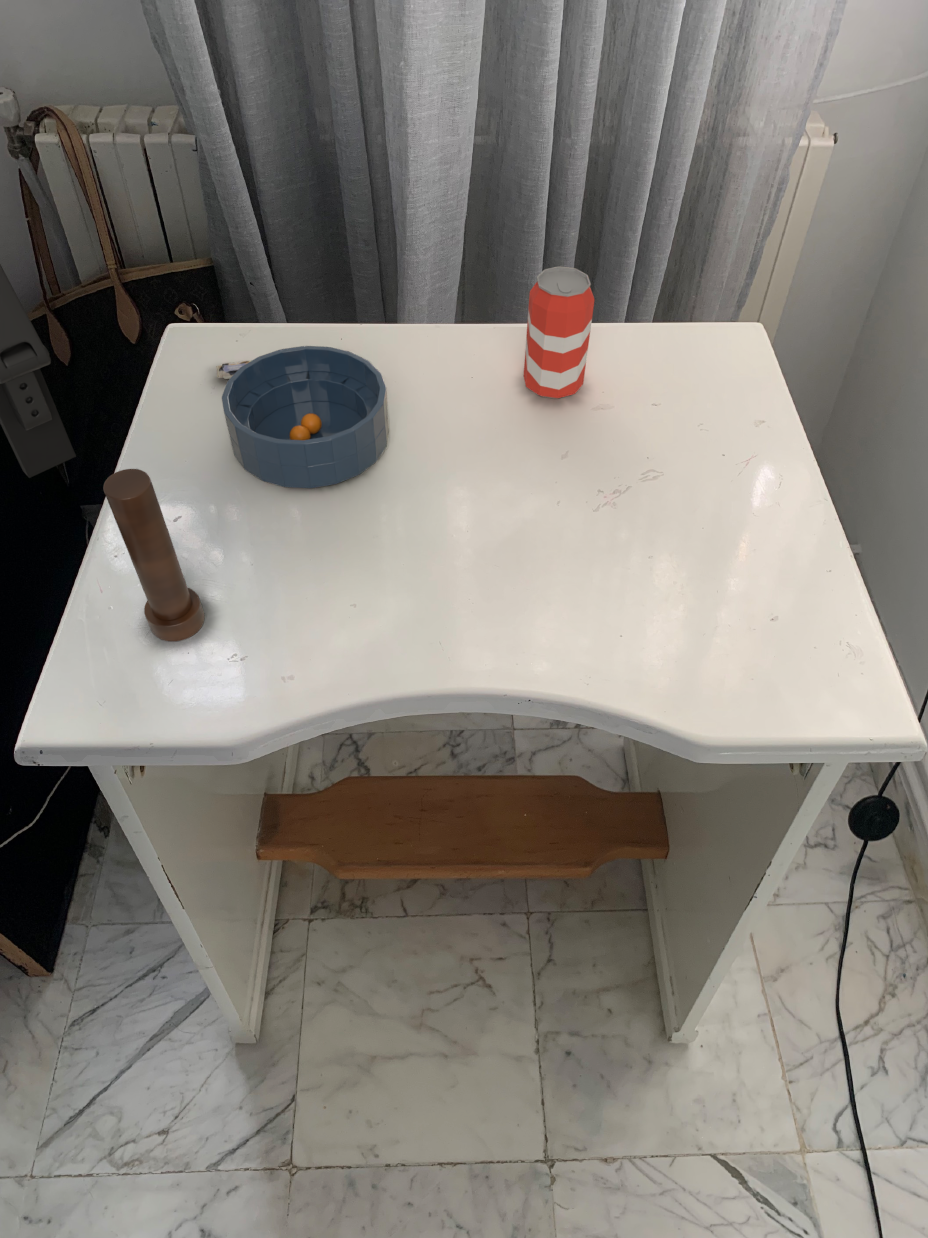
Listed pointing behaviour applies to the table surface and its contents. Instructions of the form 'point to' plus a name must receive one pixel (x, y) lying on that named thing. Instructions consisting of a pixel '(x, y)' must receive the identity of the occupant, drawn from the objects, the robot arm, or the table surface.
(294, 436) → the bead
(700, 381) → the table surface
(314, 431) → the bead
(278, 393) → the bowl
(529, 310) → the beverage can
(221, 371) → the granola bar
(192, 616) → the brown cylinder
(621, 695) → the table surface
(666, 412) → the table surface
